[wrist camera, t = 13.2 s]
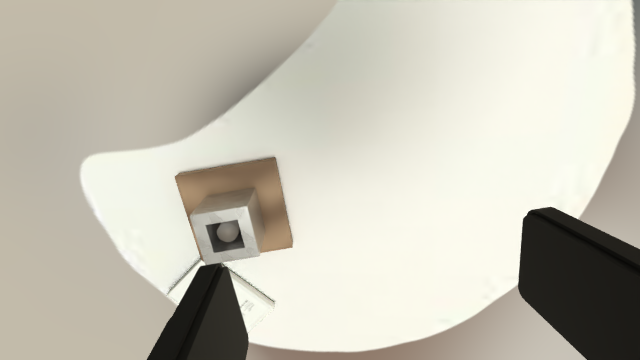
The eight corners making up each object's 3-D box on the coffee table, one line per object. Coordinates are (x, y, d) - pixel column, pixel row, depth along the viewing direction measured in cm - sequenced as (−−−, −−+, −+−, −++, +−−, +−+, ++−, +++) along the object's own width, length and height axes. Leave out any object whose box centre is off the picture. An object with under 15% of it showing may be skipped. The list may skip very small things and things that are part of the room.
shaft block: (179, 173, 36) (154, 191, 30) (275, 157, 37) (270, 172, 30) (205, 256, 40) (188, 287, 34) (292, 241, 40) (291, 270, 34)
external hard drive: (206, 251, 40) (275, 301, 43) (170, 289, 42) (238, 335, 45) (203, 258, 39) (274, 309, 42) (165, 297, 40) (236, 344, 43)
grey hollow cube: (206, 195, 36) (189, 215, 30) (255, 187, 36) (247, 206, 30) (219, 238, 38) (205, 265, 32) (265, 230, 38) (259, 256, 32)
